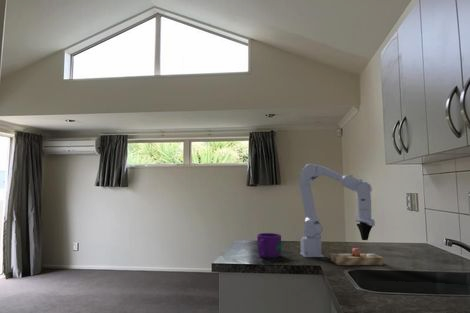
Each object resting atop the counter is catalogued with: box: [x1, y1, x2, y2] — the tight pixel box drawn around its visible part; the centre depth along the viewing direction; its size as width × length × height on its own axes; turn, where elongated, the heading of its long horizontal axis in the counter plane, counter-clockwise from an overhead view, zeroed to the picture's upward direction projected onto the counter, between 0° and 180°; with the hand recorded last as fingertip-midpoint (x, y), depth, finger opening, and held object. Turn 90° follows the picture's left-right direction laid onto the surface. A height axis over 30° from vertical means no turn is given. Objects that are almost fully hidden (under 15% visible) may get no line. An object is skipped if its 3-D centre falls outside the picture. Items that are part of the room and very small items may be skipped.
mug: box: [256, 232, 282, 259], centre depth 156 cm, size 17×11×10 cm, turn 152°
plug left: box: [337, 253, 347, 257], centre depth 146 cm, size 3×3×3 cm
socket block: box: [330, 252, 384, 266], centre depth 146 cm, size 20×8×3 cm, turn 94°
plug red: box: [352, 247, 361, 257], centre depth 146 cm, size 3×3×3 cm
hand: (364, 240), depth 147 cm, fingers closed
